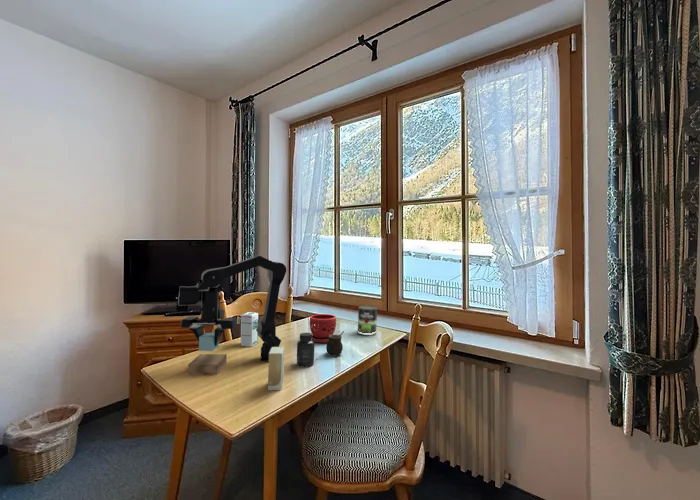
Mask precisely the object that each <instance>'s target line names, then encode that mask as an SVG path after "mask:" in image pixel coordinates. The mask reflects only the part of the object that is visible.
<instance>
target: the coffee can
mask: <svg viewBox="0 0 700 500" xmlns="http://www.w3.org/2000/svg"><path fill="white" fill-rule="evenodd" d="M357 315H358V316H357V317H358V319H357V322H358V323H357V332H358V331H359V332H362V333H372V332H375V331H376V332H377V326H378V324H377V320H378V319H377V318H378V307H376V306H373V305H360V306H358V314H357Z"/></svg>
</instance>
